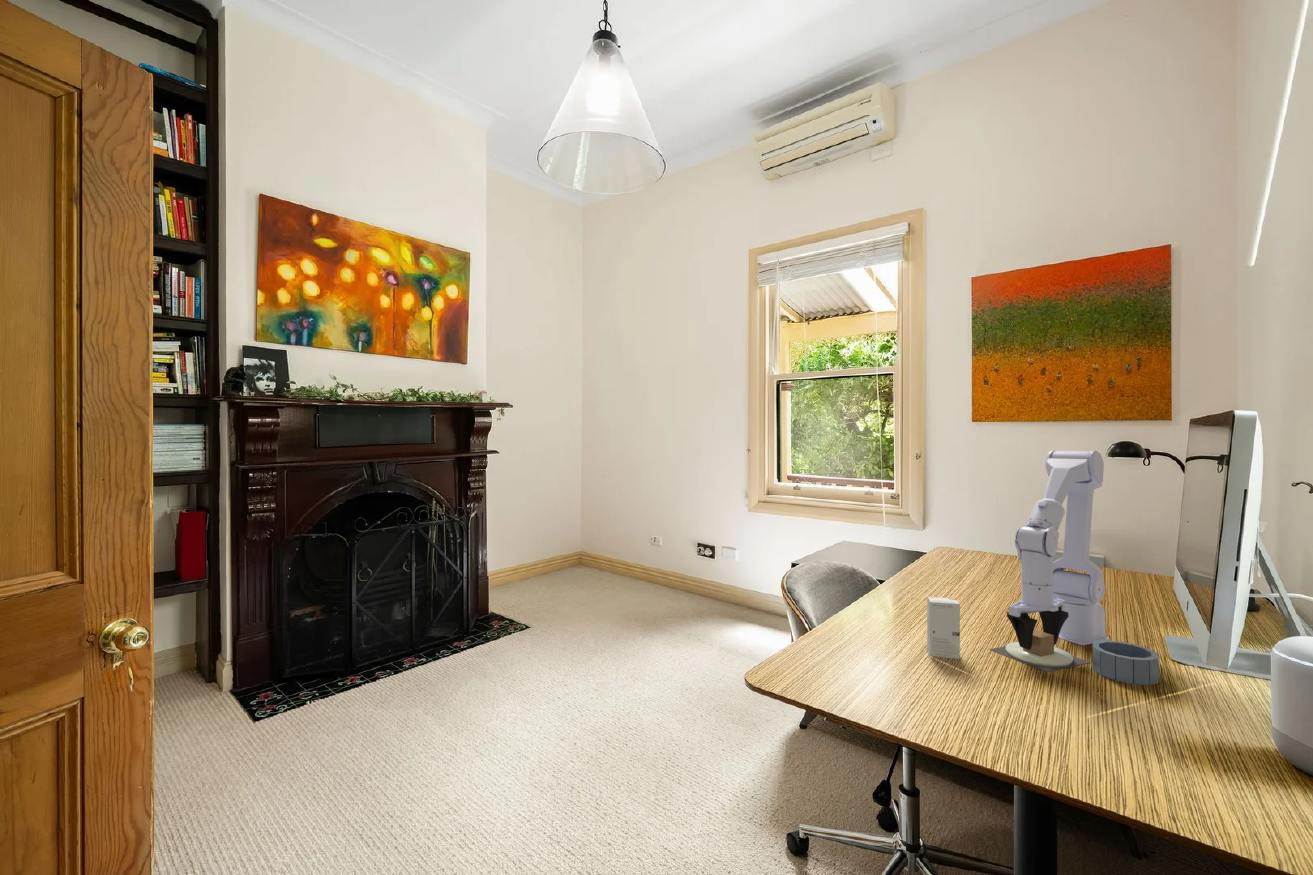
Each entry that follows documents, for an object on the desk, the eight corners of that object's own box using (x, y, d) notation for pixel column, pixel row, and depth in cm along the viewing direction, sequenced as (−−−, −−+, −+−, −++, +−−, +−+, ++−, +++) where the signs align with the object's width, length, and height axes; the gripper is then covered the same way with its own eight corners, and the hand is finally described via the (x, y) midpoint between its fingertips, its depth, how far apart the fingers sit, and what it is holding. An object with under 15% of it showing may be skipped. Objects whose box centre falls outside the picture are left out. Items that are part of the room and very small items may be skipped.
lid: (1031, 642, 128) (1031, 621, 128) (1086, 661, 116) (1086, 638, 116) (992, 649, 124) (992, 628, 124) (1046, 670, 112) (1045, 646, 112)
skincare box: (930, 657, 121) (928, 601, 121) (926, 649, 125) (925, 596, 125) (961, 660, 119) (960, 603, 119) (957, 652, 124) (956, 597, 124)
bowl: (1114, 661, 117) (1113, 637, 117) (1171, 680, 107) (1170, 655, 107) (1081, 668, 114) (1080, 644, 114) (1137, 689, 104) (1136, 662, 104)
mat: (1031, 642, 128) (1031, 641, 128) (1091, 663, 116) (1091, 662, 116) (989, 650, 124) (989, 649, 124) (1046, 673, 112) (1046, 672, 112)
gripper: (1030, 590, 114) (1031, 656, 114) (1079, 583, 119) (1080, 647, 119) (999, 582, 121) (1000, 645, 121) (1046, 576, 125) (1047, 636, 125)
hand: (1038, 645), depth 120 cm, fingers open, 7 cm apart
